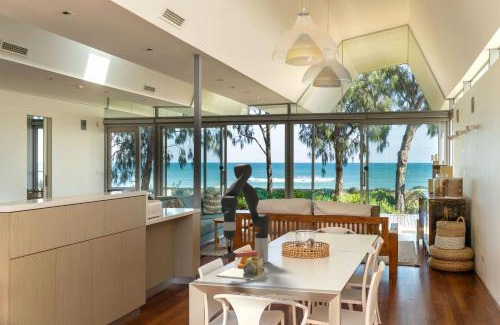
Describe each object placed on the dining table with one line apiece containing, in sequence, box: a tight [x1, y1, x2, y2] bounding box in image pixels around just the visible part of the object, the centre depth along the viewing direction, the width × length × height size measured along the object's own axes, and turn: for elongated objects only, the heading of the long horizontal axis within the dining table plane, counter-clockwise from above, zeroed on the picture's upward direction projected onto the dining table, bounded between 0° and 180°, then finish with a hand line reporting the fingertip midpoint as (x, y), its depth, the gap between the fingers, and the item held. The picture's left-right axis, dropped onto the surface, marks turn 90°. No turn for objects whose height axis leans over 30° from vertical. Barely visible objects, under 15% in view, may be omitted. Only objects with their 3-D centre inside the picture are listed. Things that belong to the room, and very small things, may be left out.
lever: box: [223, 250, 258, 260], centre depth 306 cm, size 22×4×3 cm, turn 117°
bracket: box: [237, 248, 252, 269], centre depth 331 cm, size 11×7×12 cm, turn 72°
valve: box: [243, 256, 265, 278], centre depth 310 cm, size 22×8×11 cm, turn 158°
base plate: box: [216, 267, 270, 281], centre depth 312 cm, size 22×26×1 cm
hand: (229, 257), depth 307 cm, fingers closed
